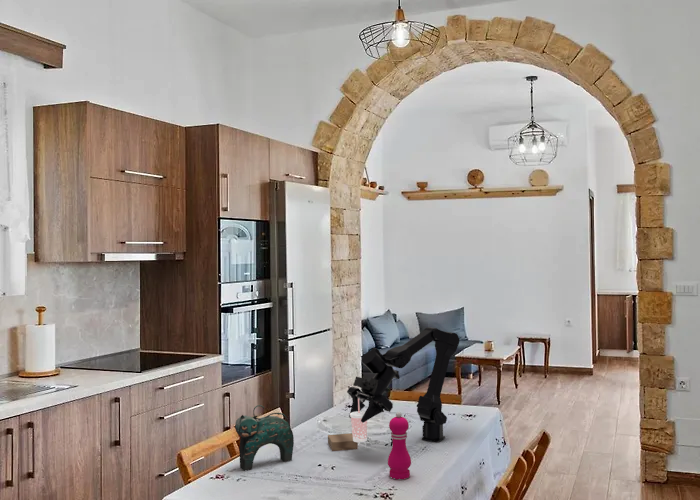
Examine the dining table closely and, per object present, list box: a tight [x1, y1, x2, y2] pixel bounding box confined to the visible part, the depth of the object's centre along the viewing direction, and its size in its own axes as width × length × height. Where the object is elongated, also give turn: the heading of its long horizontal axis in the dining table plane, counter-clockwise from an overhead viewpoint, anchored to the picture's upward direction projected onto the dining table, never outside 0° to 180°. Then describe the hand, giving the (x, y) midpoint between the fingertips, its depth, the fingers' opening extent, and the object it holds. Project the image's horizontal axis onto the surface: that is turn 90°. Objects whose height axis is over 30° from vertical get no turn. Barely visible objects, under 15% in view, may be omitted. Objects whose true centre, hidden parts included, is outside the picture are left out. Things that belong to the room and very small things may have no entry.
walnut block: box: [327, 432, 359, 452], centre depth 255 cm, size 9×9×3 cm
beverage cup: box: [349, 398, 368, 443], centre depth 241 cm, size 6×6×14 cm
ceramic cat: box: [234, 404, 295, 472], centre depth 237 cm, size 20×6×20 cm, turn 122°
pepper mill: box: [387, 411, 412, 480], centre depth 224 cm, size 7×7×20 cm
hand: (355, 419), depth 240 cm, fingers closed on beverage cup, 6 cm apart
